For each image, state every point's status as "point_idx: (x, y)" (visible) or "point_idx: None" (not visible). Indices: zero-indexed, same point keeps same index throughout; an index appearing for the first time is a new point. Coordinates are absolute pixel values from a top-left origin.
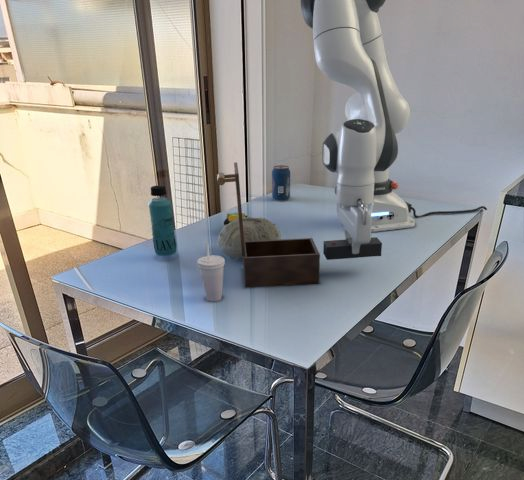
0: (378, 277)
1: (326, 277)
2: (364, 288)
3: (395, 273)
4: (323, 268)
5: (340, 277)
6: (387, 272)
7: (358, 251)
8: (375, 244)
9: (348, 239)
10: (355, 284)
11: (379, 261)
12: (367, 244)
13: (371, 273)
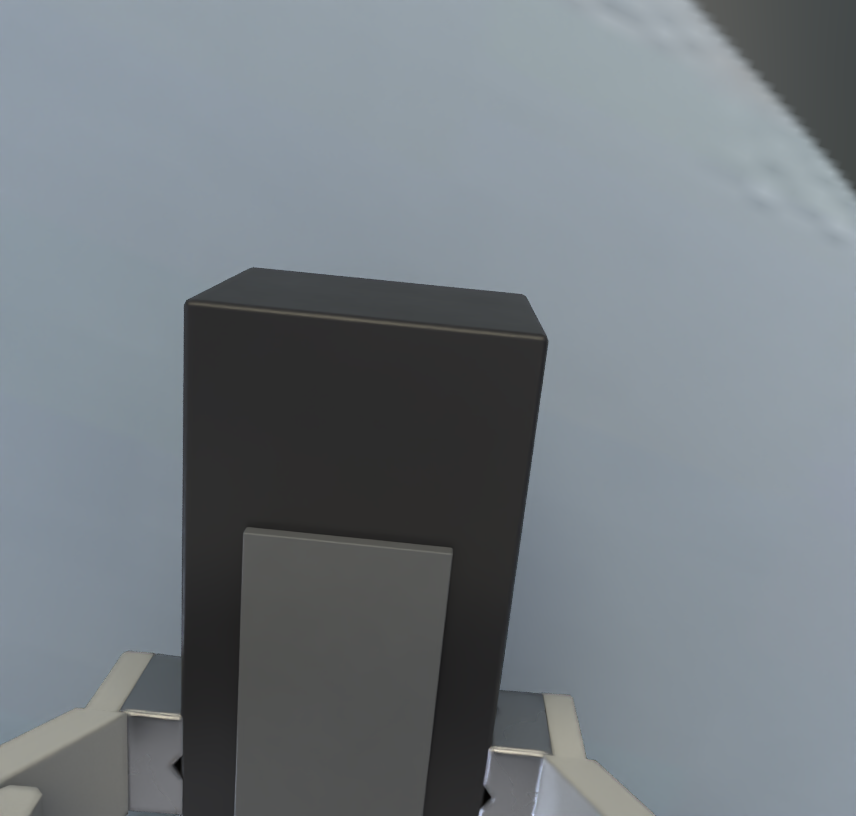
0: (579, 299)
1: None
2: (792, 540)
3: (527, 50)
4: None
5: None
6: (473, 138)
7: (576, 718)
8: (529, 457)
9: (194, 796)
10: (673, 587)
11: (118, 95)
12: (510, 600)
13: None
